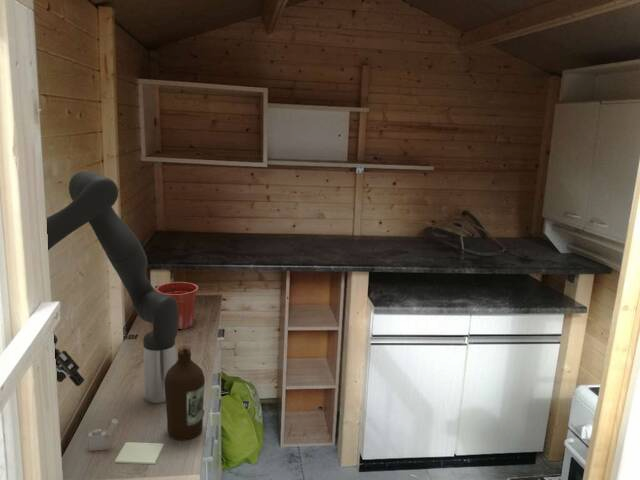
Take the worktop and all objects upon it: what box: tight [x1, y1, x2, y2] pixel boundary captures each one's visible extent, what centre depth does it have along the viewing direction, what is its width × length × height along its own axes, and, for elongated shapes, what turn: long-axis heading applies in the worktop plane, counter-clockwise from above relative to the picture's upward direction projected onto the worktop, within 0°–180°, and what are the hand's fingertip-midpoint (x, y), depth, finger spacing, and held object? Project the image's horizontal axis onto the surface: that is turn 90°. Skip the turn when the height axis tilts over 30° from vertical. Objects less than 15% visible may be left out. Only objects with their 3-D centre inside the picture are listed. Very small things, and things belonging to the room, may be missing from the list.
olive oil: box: [164, 344, 206, 441], centre depth 147 cm, size 11×11×25 cm
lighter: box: [87, 418, 119, 452], centre depth 140 cm, size 7×2×8 cm, turn 102°
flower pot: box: [155, 281, 199, 330], centre depth 220 cm, size 16×16×16 cm
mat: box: [114, 441, 165, 465], centre depth 139 cm, size 8×10×1 cm
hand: (71, 381), depth 136 cm, fingers open, 8 cm apart
